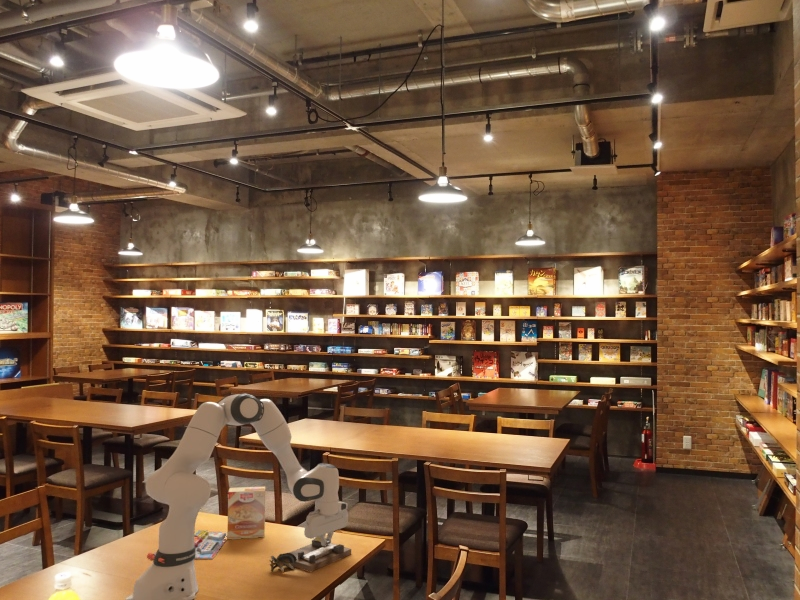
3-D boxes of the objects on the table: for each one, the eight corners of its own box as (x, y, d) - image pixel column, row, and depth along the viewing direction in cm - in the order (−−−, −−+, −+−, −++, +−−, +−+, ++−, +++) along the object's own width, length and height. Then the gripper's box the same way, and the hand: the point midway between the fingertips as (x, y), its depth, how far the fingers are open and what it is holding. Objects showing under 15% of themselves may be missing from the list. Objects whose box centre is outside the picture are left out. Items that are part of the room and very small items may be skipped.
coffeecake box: (227, 540, 255) (227, 491, 256) (228, 534, 262) (229, 487, 263) (264, 538, 258) (265, 490, 259) (264, 532, 265) (265, 485, 266)
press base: (310, 572, 223) (310, 559, 223) (279, 561, 232) (279, 549, 233) (351, 554, 241) (351, 542, 241) (320, 545, 250) (321, 534, 250)
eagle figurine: (274, 574, 218) (299, 565, 222) (268, 553, 221) (293, 545, 225) (272, 579, 224) (296, 570, 228) (267, 559, 227) (291, 551, 231)
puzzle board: (212, 561, 234) (212, 554, 234) (150, 561, 233) (150, 554, 234) (231, 534, 265) (231, 527, 265) (176, 534, 264) (176, 528, 264)
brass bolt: (324, 543, 239) (324, 534, 240) (313, 540, 243) (313, 531, 243) (330, 541, 242) (330, 532, 242) (318, 537, 245) (319, 529, 246)
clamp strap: (309, 562, 227) (309, 558, 227) (301, 559, 229) (301, 556, 229) (338, 548, 239) (338, 545, 239) (330, 546, 242) (330, 543, 242)
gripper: (313, 514, 227) (312, 553, 226) (350, 503, 243) (350, 539, 243) (301, 511, 231) (300, 549, 230) (338, 500, 247) (337, 536, 246)
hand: (326, 544), depth 236 cm, fingers closed
